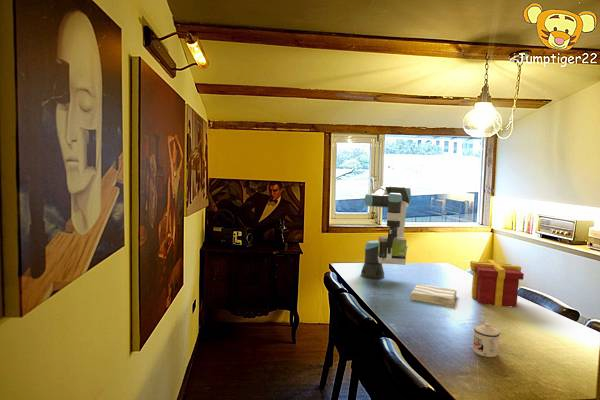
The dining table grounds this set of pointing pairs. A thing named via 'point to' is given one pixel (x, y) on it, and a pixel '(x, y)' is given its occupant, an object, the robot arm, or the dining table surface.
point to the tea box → (397, 250)
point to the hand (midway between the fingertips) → (391, 257)
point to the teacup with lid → (486, 340)
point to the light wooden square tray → (434, 295)
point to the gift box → (495, 283)
